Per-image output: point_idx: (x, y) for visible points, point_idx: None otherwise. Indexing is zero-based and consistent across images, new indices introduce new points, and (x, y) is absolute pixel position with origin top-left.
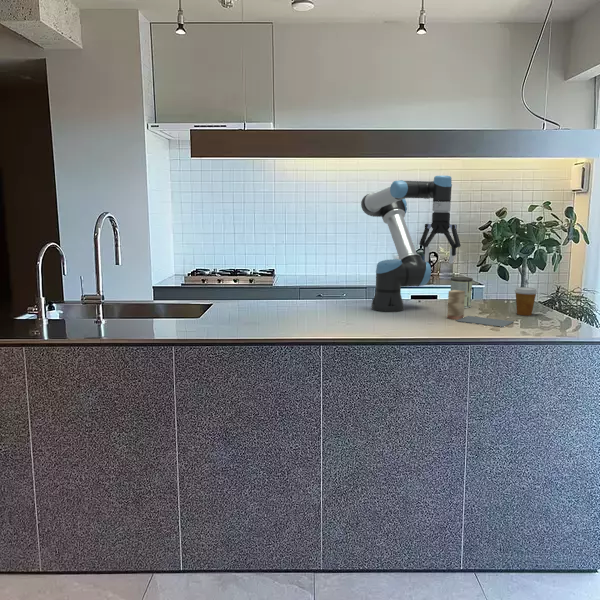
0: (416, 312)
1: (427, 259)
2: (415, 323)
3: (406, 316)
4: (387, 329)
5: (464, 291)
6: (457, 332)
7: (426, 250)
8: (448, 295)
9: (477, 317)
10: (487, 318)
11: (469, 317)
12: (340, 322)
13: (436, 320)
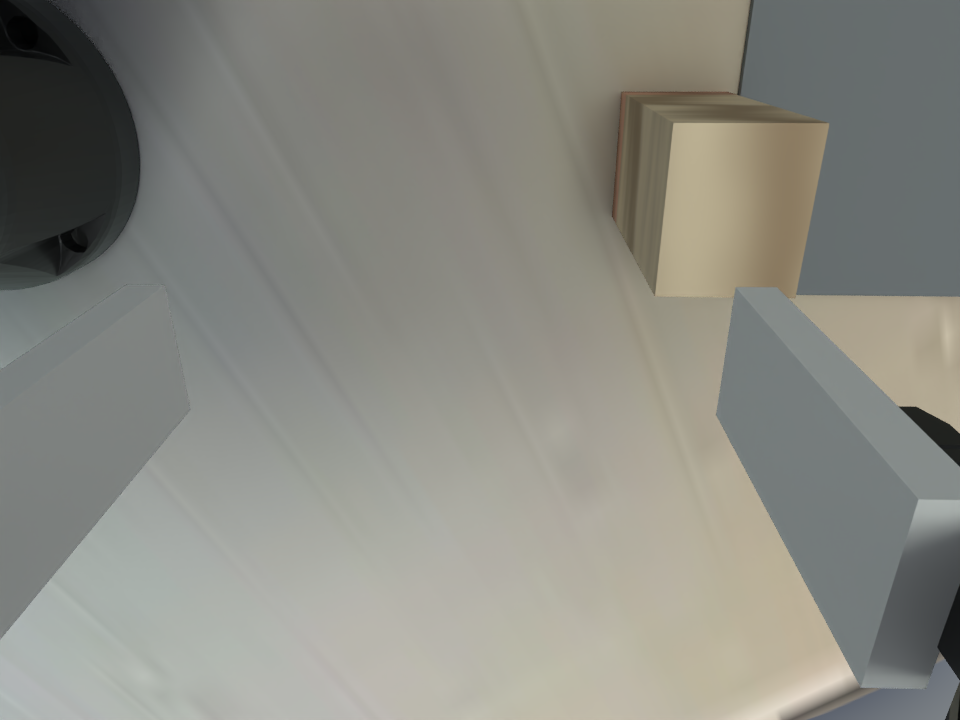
0: (272, 112)
1: (156, 374)
2: (493, 512)
3: (315, 336)
4: (447, 710)
5: (823, 138)
6: (806, 590)
7: (38, 582)
8: (647, 279)
9: (856, 28)
10: (955, 15)
11: (785, 81)
12: (153, 702)
13: (568, 341)
